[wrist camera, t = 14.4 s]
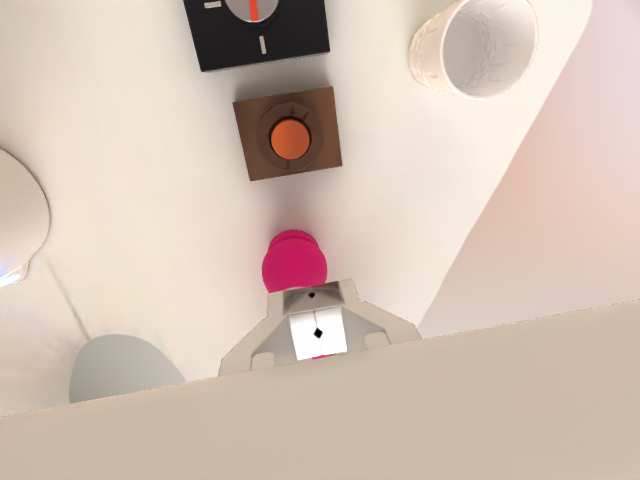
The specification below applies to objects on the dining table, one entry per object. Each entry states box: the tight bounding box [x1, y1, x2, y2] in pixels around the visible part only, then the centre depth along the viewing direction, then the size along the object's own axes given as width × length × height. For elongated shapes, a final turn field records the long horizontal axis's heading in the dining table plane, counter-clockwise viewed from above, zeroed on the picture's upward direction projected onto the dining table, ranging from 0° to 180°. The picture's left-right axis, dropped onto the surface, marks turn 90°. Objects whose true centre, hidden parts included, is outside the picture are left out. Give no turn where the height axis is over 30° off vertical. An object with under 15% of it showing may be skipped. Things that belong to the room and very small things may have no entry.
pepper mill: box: [262, 230, 330, 362], centre depth 36 cm, size 7×7×20 cm
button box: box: [233, 86, 342, 181], centre depth 38 cm, size 10×8×4 cm
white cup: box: [409, 0, 539, 100], centre depth 34 cm, size 8×8×10 cm
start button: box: [271, 119, 309, 159], centre depth 36 cm, size 4×4×2 cm
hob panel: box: [183, 0, 330, 73], centre depth 34 cm, size 12×10×3 cm
